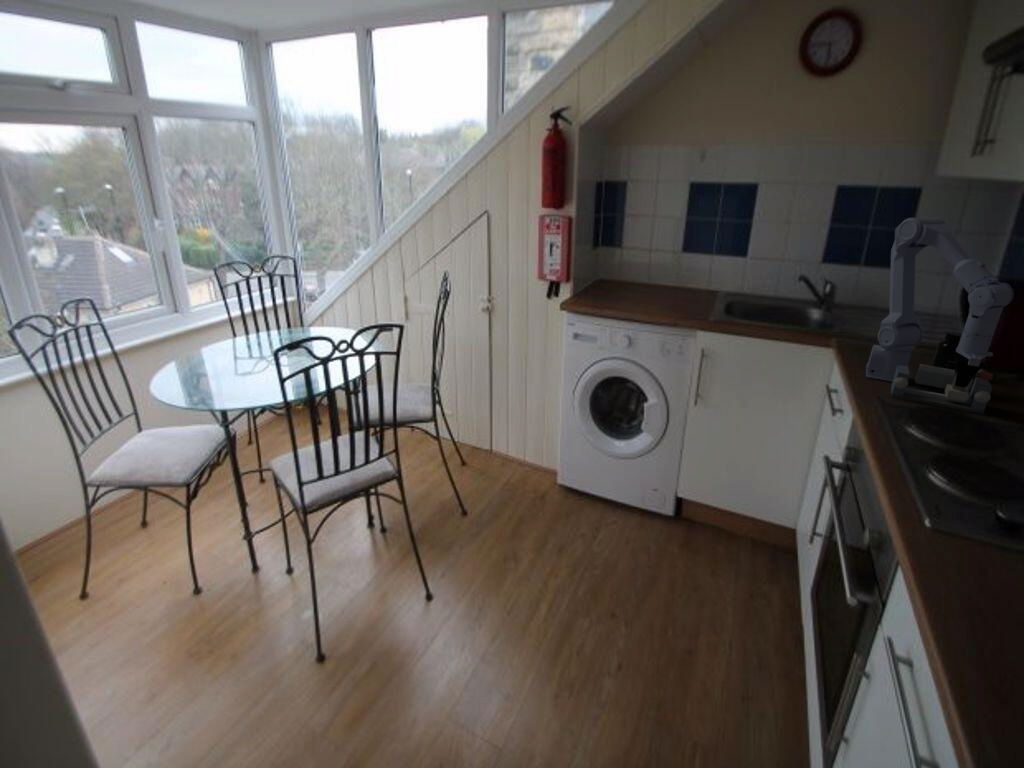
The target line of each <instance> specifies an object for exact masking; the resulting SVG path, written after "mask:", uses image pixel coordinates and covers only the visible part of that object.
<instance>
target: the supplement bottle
mask: <svg viewBox="0 0 1024 768" xmlns="http://www.w3.org/2000/svg"><path fill="white" fill-rule="evenodd" d="M962 333H963V332H956V331H947V332H946V334H945V336H944V340H941V341H939V342H938V344H937V347H936V349H935V352H934V356H933V358H932V362H931V364H930V366H934V367H940V368H945V369H951V370H955V358H954V354H959V353H957V352H956V348H957V347H958V345H959V342H960V339H961V336H962Z"/></svg>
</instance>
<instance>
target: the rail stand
mask: <svg viewBox="0 0 1024 768" xmlns="http://www.w3.org/2000/svg"><path fill="white" fill-rule="evenodd" d="M909 378H910V370H909V366H901V365H897V369H896V372H895V375H894V379H893V382H892V381H891V385H890V397H891V398H893V399H899V400H905V401H908V402H909V401H910V402H914V403H915V402H916V403H920V404H921V403H922V404H924V405H925V404H926V405H932V406H936V407H937V406H938V407H943V408H948V409H954V410H958V411H959V410H960V411H964V412H968V413H969V412H970V413H975V414H981V415H984V413H985V410H986V406H987V404H988V402H989V401H990V400H991V397H992V396H991V392H992V390H993V386H992V385H991V383H990V380H984V379H981V378H979V377H975V378H974V380H973V384H972V385H971V388H970V391H969V396H968V398H967V401H966V402H965V403H962V402H956V401H950V400H945V397H946V395H945V393H940V392H934V391H929V390H924V389H923V390H922V389H918V388H910V387H908V385H909V381H908V380H909Z"/></svg>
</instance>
